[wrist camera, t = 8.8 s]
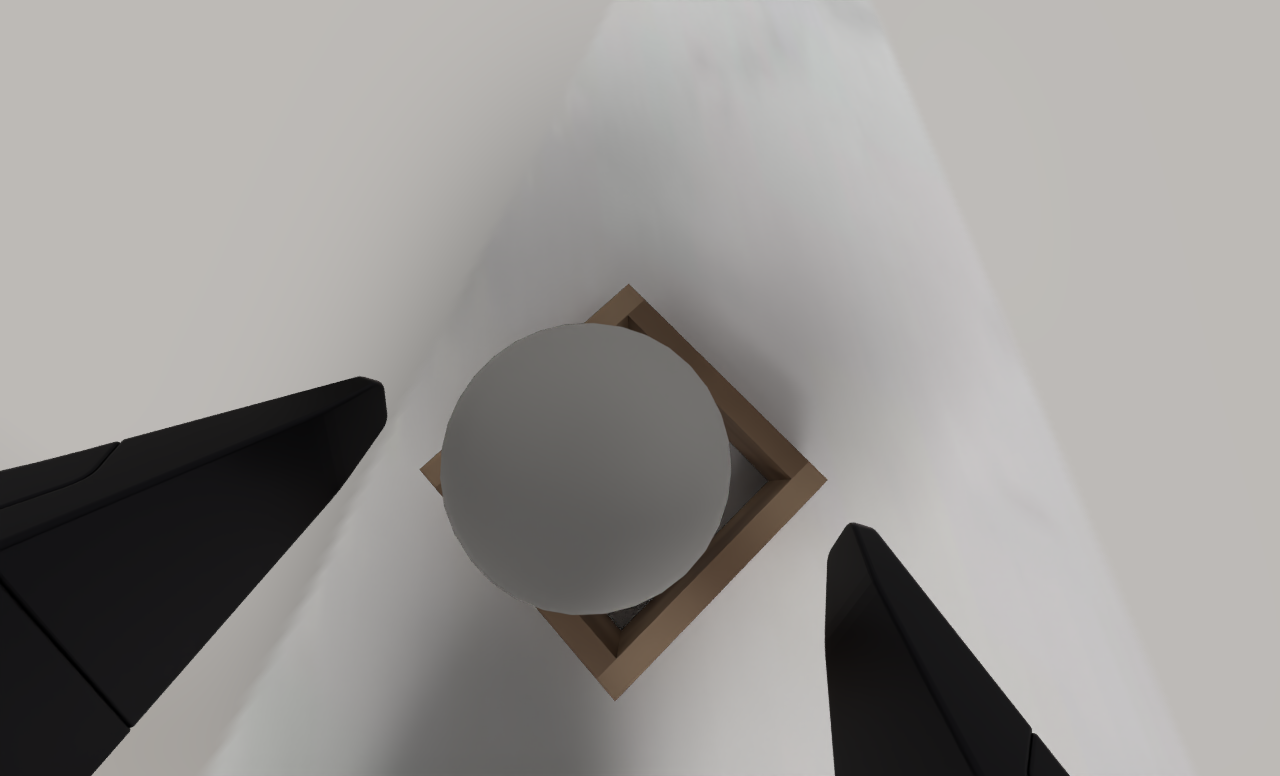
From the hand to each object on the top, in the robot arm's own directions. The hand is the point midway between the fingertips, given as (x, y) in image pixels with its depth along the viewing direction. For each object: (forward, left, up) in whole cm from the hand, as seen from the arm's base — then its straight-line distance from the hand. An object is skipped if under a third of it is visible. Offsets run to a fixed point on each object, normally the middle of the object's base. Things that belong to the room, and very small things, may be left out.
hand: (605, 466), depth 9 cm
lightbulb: (0, 0, -10) cm, 10 cm away
